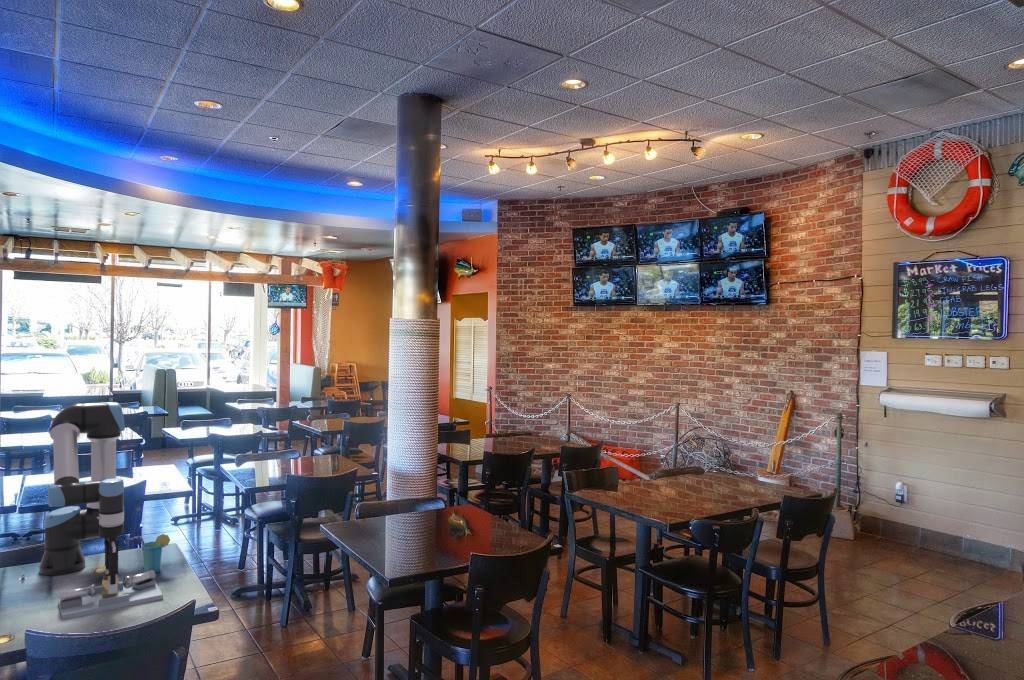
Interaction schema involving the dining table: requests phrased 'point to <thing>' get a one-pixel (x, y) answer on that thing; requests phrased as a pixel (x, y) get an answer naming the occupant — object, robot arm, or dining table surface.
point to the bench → (107, 601)
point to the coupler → (105, 587)
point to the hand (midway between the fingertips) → (111, 590)
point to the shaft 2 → (140, 581)
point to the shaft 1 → (78, 593)
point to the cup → (153, 552)
